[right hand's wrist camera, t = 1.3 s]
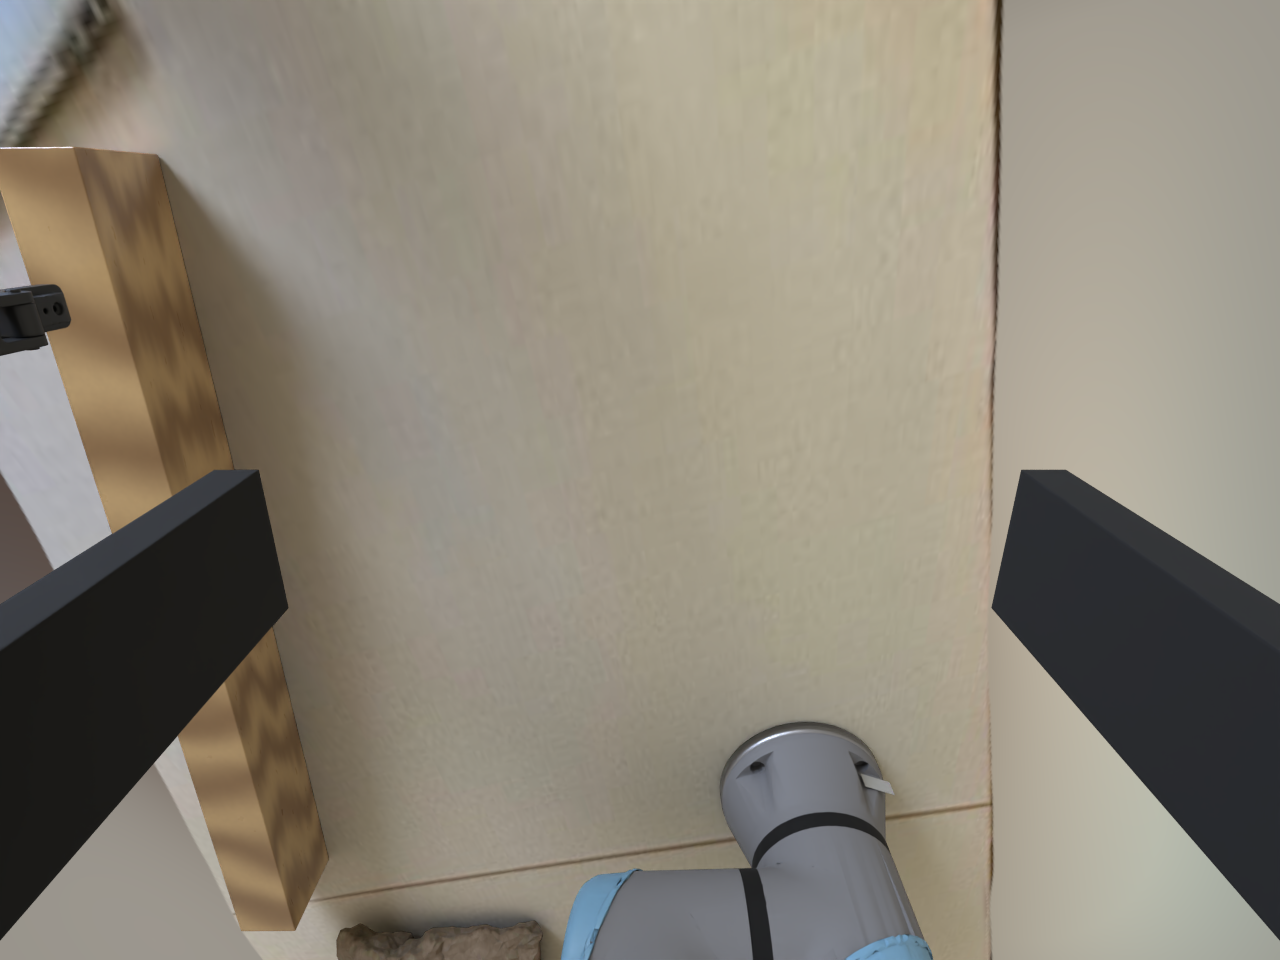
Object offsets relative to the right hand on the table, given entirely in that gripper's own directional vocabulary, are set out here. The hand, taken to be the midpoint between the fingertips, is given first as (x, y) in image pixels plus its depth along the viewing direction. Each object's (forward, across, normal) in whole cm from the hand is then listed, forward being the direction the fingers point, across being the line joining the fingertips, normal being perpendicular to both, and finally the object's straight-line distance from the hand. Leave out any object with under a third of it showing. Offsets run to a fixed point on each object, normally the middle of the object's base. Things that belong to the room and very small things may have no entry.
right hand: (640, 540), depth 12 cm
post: (+41, +34, +24) cm, 58 cm away
